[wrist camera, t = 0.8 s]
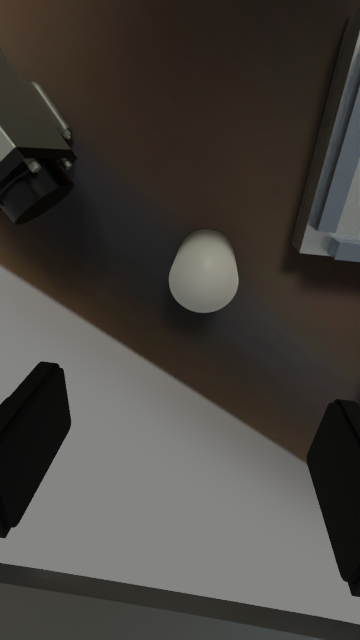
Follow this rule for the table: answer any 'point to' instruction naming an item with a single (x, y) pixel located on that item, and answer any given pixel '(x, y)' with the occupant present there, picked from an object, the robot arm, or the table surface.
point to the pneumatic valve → (30, 148)
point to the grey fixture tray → (336, 164)
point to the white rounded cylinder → (204, 272)
